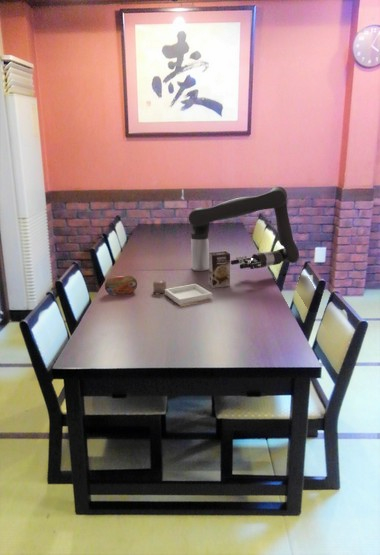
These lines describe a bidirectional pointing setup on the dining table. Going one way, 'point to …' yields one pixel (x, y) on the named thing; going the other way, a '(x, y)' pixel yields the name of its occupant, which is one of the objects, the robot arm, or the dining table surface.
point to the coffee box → (219, 269)
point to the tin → (120, 285)
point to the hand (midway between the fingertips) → (235, 264)
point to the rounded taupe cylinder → (159, 286)
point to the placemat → (195, 302)
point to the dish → (188, 294)
